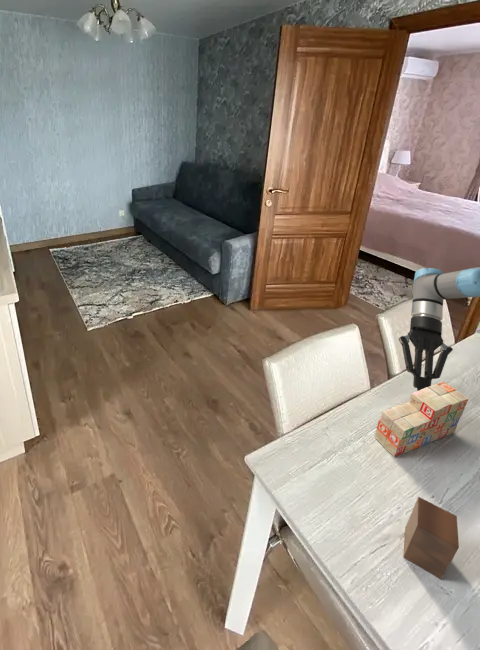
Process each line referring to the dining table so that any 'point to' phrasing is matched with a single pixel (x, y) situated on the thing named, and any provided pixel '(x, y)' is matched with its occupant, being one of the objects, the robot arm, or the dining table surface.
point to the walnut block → (431, 537)
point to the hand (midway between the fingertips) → (420, 401)
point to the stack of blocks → (421, 418)
